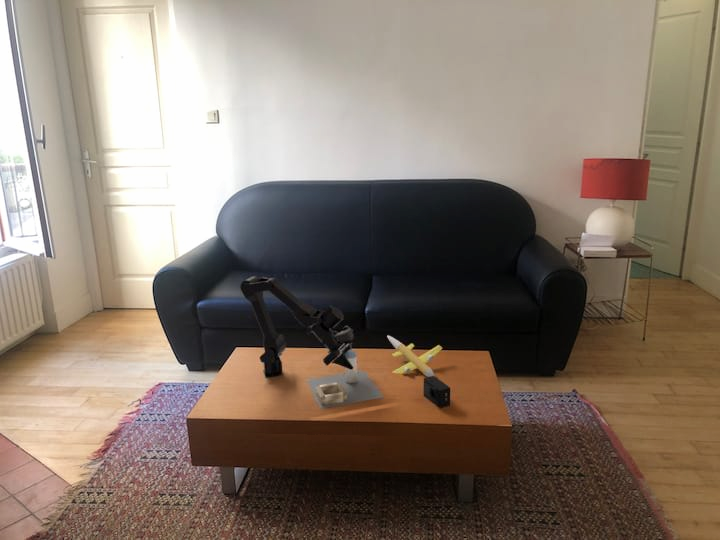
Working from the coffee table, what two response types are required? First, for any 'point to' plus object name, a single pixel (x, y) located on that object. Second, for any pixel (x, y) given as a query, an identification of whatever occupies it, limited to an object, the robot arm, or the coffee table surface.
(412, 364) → the toy airplane
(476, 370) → the coffee table surface
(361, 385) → the jig board
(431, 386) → the digital camera
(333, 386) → the cradle
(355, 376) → the blue-domed white cylinder
